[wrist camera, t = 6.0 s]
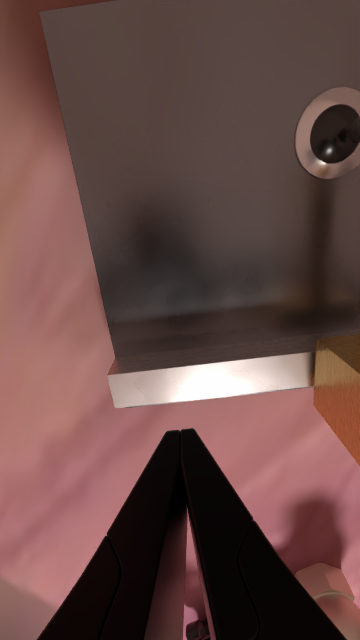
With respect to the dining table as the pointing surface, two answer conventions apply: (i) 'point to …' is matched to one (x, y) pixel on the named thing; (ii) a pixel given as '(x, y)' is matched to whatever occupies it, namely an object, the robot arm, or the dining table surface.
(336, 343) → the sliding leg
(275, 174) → the bolt plate dividers
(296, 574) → the valve
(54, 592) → the dining table surface
